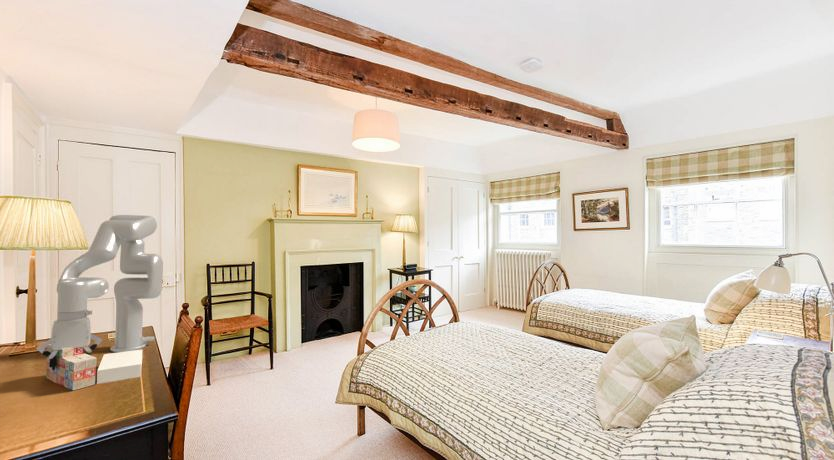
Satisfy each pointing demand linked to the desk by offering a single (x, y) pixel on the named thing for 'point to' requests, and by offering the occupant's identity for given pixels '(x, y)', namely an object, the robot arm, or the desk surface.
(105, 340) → the desk surface
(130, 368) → the block
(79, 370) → the stack of blocks
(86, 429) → the desk surface
